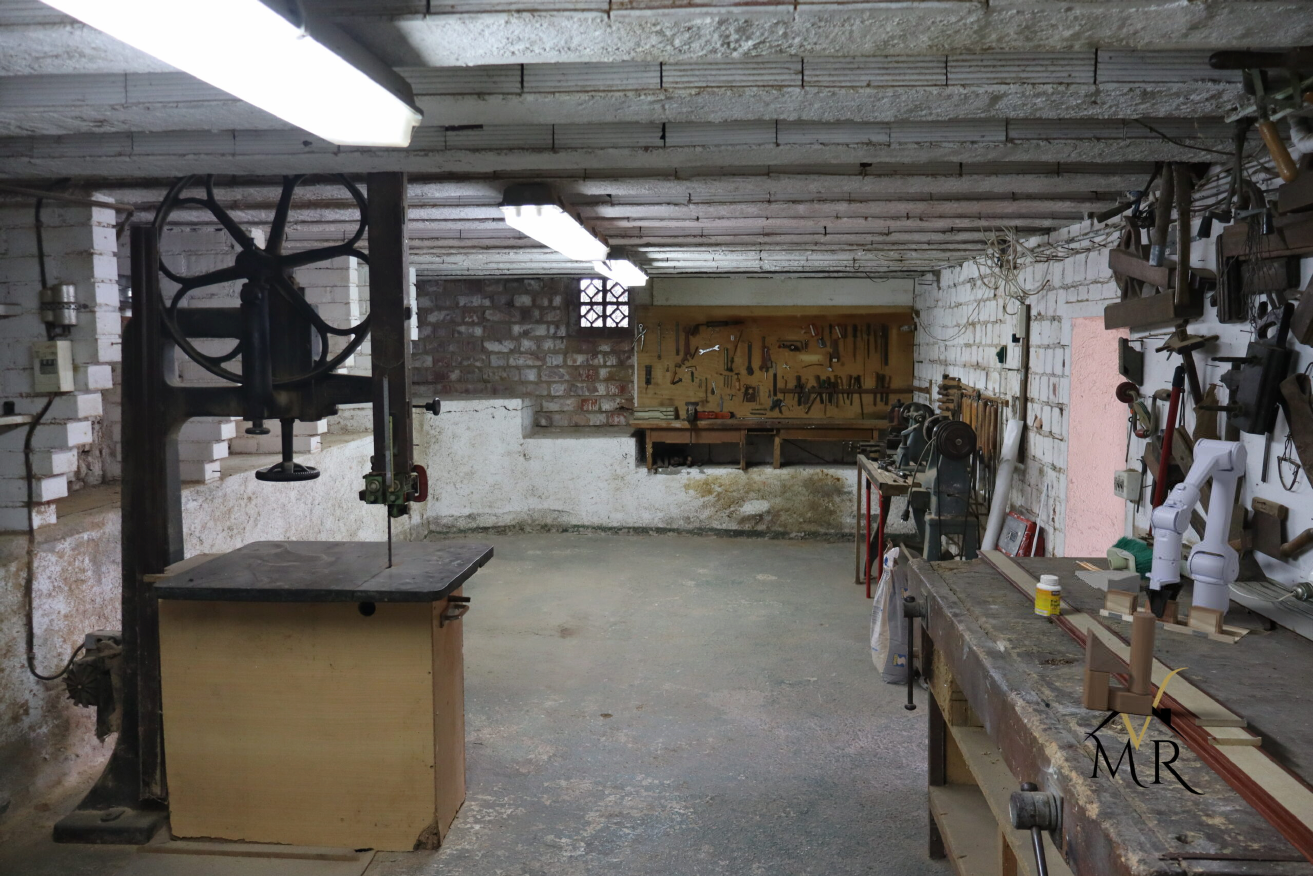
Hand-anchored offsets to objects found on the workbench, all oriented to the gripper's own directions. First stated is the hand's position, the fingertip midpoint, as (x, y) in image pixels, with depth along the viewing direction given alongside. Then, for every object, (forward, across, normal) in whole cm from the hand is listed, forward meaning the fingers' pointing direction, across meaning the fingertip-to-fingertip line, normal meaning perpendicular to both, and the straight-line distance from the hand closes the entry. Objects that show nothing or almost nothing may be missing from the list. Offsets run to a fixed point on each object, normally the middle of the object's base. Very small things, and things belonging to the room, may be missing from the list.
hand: (1162, 614), depth 210 cm
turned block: (+2, 0, 0) cm, 2 cm away
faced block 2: (+2, 0, +9) cm, 9 cm away
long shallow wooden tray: (+3, -4, +2) cm, 5 cm away
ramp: (+4, -33, -24) cm, 41 cm away
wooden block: (+4, +61, +10) cm, 62 cm away
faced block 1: (+2, 0, -9) cm, 9 cm away
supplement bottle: (+4, +13, -22) cm, 25 cm away
